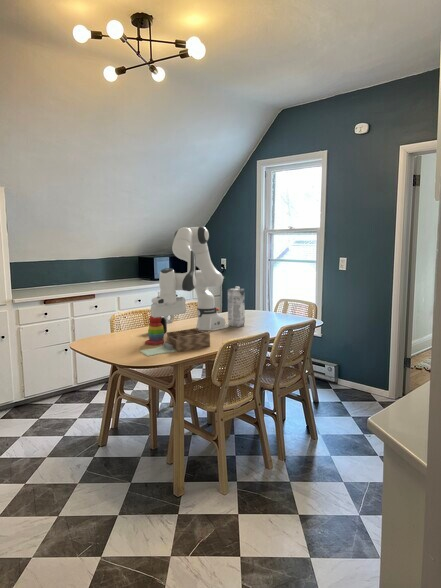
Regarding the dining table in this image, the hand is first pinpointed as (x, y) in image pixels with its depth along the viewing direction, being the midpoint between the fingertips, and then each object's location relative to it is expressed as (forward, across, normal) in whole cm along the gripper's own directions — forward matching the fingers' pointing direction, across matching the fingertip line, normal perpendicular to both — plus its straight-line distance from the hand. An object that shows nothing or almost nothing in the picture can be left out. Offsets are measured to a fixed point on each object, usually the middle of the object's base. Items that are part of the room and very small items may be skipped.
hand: (169, 323), depth 238 cm
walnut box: (+15, -11, 0) cm, 19 cm away
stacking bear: (+15, +1, -18) cm, 23 cm away
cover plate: (+15, +7, 0) cm, 17 cm away
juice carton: (+17, -64, -28) cm, 72 cm away
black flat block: (+16, -11, -41) cm, 45 cm away
